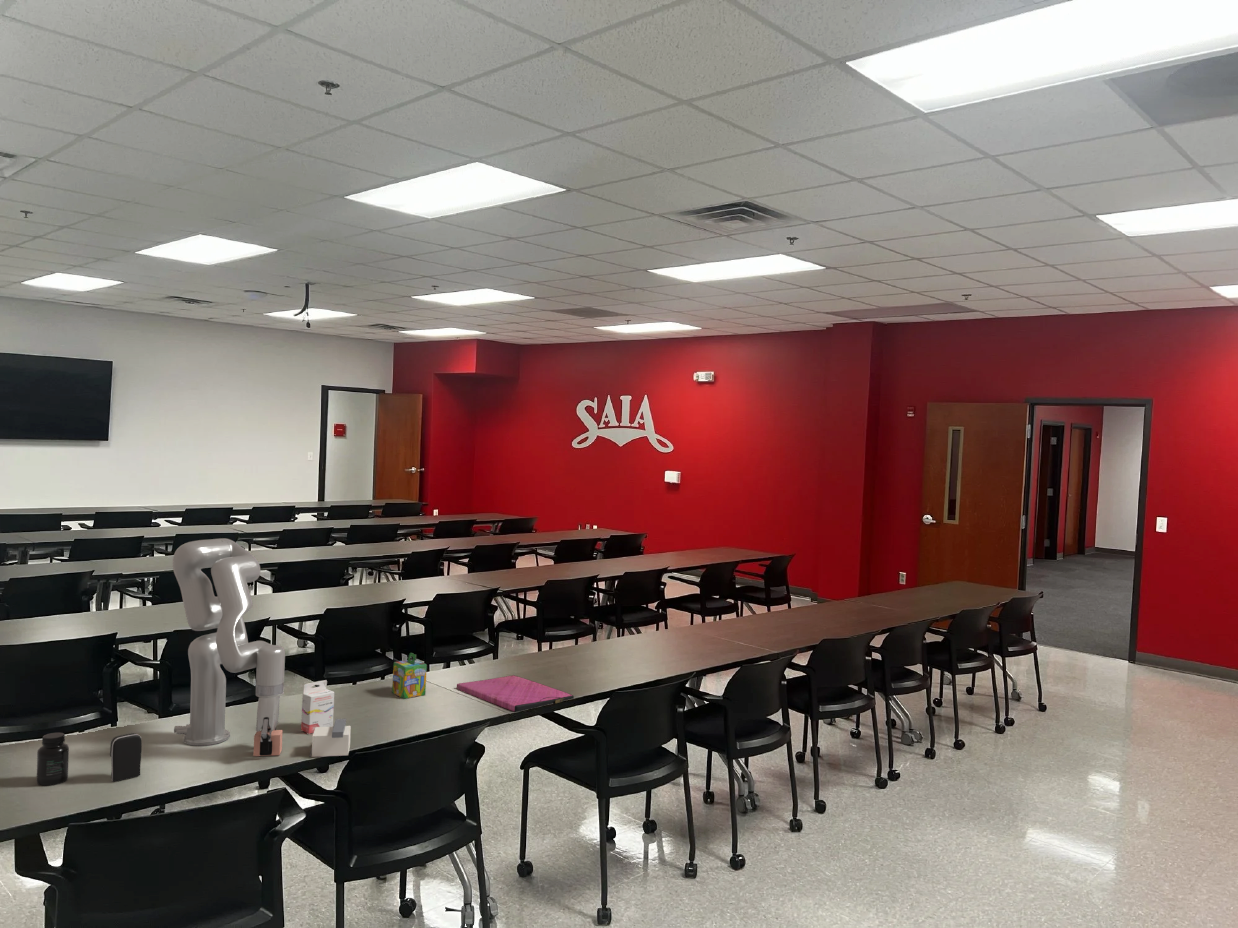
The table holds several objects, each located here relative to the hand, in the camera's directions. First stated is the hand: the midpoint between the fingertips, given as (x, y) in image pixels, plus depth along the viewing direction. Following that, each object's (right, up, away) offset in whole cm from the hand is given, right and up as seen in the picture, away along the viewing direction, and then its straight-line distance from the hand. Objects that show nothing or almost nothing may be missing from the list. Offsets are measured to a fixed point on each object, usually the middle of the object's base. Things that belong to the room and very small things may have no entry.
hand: (267, 749), depth 245 cm
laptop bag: (+64, -3, +68) cm, 93 cm away
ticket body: (+17, -2, +4) cm, 18 cm away
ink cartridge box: (+6, -1, +22) cm, 23 cm away
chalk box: (+25, -1, +63) cm, 68 cm away
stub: (0, -1, 0) cm, 1 cm away
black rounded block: (-30, -1, -21) cm, 36 cm away
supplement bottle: (-46, 0, -25) cm, 52 cm away
